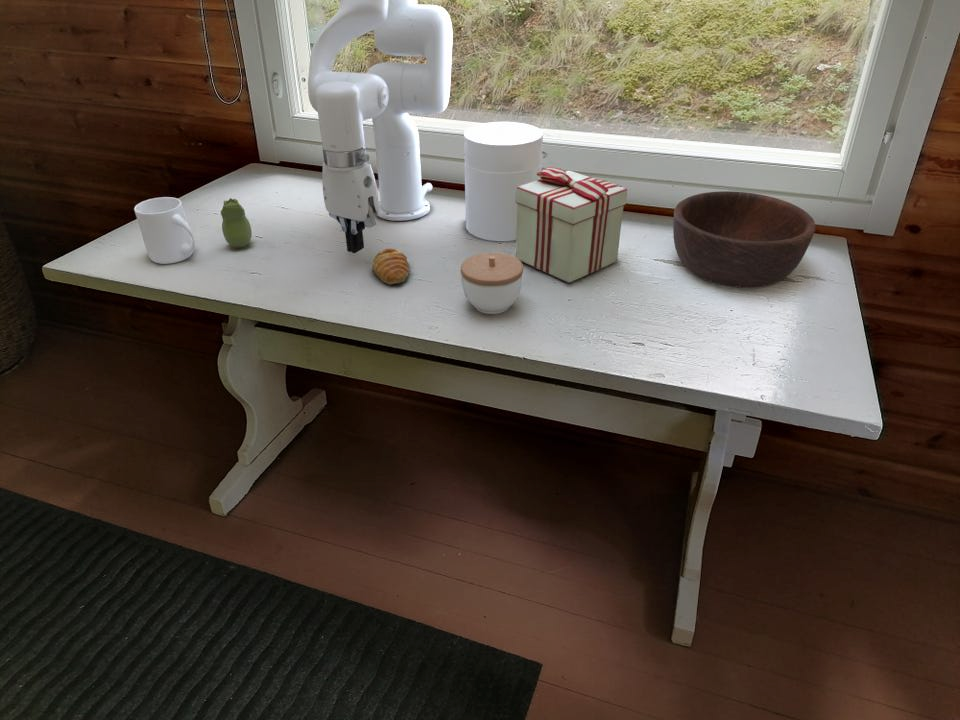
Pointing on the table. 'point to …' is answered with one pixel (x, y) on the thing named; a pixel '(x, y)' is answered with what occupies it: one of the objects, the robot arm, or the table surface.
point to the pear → (235, 224)
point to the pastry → (391, 266)
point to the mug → (165, 230)
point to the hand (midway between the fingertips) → (355, 249)
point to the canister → (498, 175)
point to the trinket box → (492, 281)
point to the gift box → (568, 223)
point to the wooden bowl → (740, 237)
